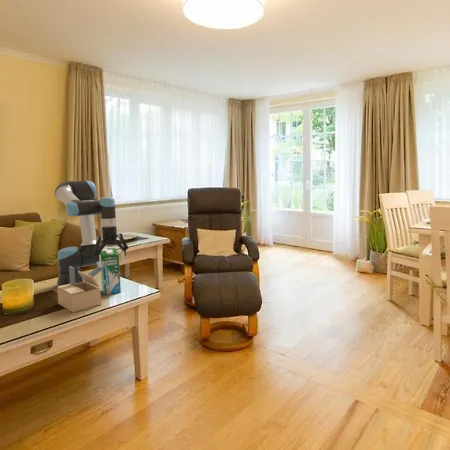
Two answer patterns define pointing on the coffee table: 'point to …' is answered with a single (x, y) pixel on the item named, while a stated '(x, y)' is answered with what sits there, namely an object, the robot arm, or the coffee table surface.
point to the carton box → (80, 298)
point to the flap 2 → (92, 275)
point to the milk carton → (110, 271)
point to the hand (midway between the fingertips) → (111, 264)
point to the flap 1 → (71, 284)
